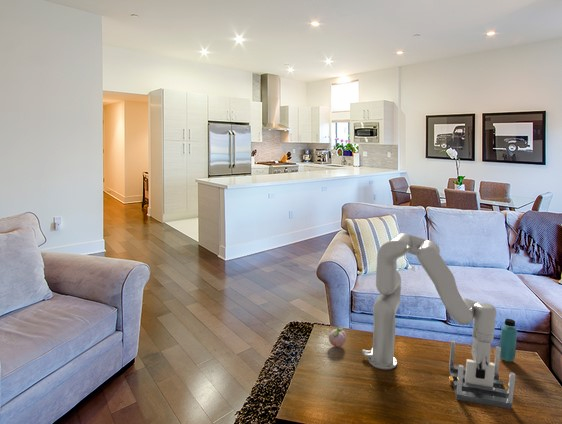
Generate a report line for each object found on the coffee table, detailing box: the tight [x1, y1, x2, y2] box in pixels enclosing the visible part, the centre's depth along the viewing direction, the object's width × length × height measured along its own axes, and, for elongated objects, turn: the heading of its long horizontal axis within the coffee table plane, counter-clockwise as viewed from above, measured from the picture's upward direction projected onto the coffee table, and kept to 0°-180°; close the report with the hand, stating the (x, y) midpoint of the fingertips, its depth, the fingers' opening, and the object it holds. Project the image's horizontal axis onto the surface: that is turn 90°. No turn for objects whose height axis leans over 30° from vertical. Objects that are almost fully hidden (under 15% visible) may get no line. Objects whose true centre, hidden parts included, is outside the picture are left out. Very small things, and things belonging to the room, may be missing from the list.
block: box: [465, 358, 495, 387], centre depth 151 cm, size 10×2×10 cm, turn 73°
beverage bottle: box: [498, 318, 518, 362], centre depth 170 cm, size 6×7×20 cm
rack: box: [448, 339, 516, 410], centre depth 151 cm, size 21×21×14 cm
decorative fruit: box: [328, 327, 347, 348], centre depth 182 cm, size 9×8×10 cm
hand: (479, 375), depth 151 cm, fingers closed on block, 2 cm apart
